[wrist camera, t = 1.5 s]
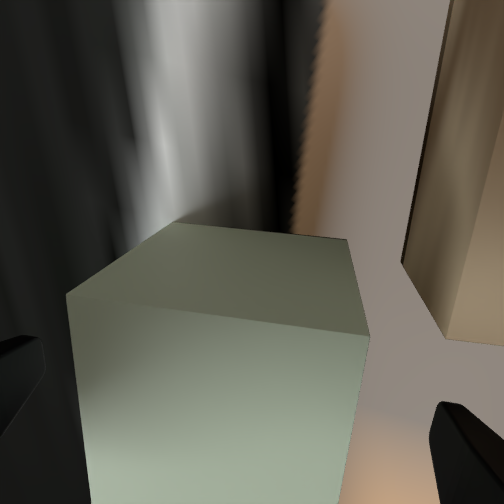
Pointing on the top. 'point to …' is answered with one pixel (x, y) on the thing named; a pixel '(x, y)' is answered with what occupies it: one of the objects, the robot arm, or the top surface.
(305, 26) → the top surface
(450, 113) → the oak block
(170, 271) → the sage cube
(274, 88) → the top surface
